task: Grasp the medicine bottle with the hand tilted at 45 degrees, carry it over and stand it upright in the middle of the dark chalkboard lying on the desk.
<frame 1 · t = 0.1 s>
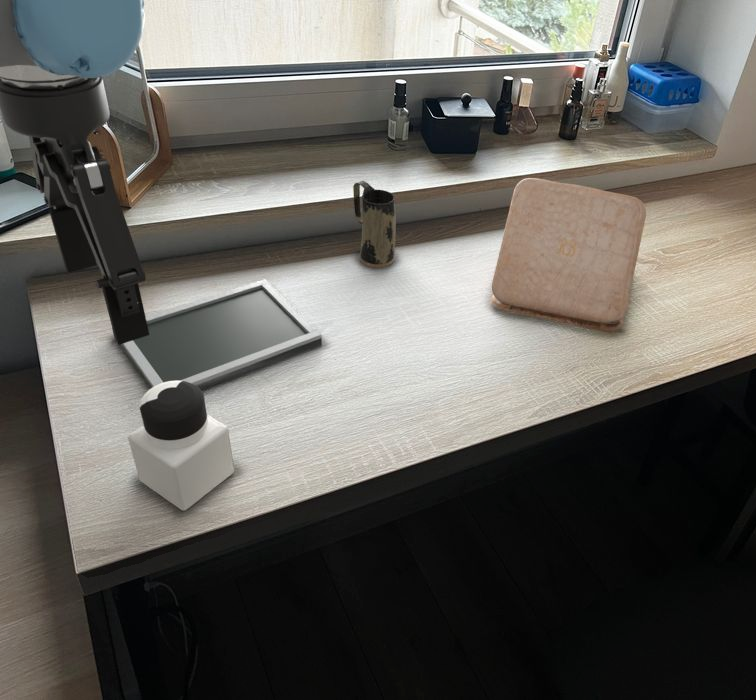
hand: (105, 301, 68), 21 cm above the table, tool pointing down, fingers open, 13 cm apart
case: (560, 291, 116), on the table
medicine bottle: (188, 478, 79), on the table
mug: (372, 256, 118), on the table
chalkboard: (219, 342, 97), on the table
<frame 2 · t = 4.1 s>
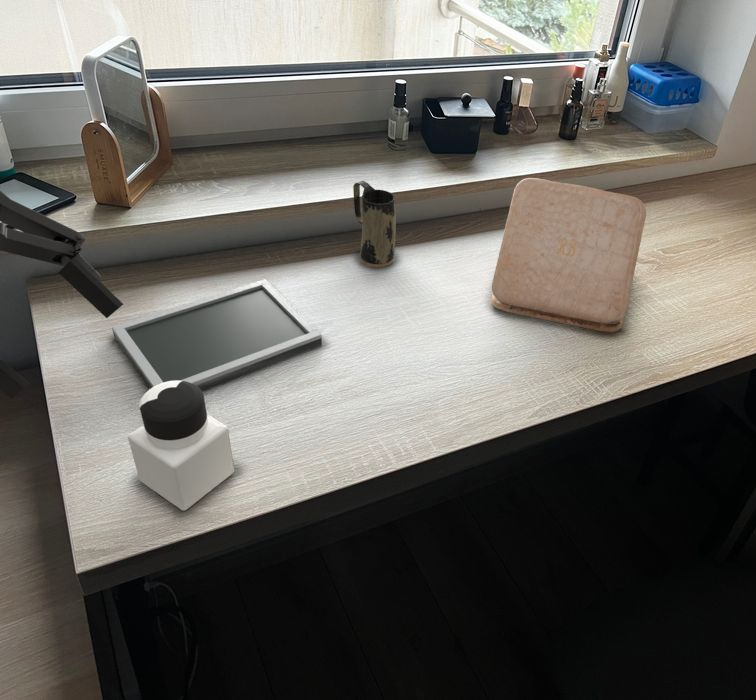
hand: (71, 348, 71), 15 cm above the table, tool tilted 45°, fingers open, 13 cm apart
nothing on the table moved.
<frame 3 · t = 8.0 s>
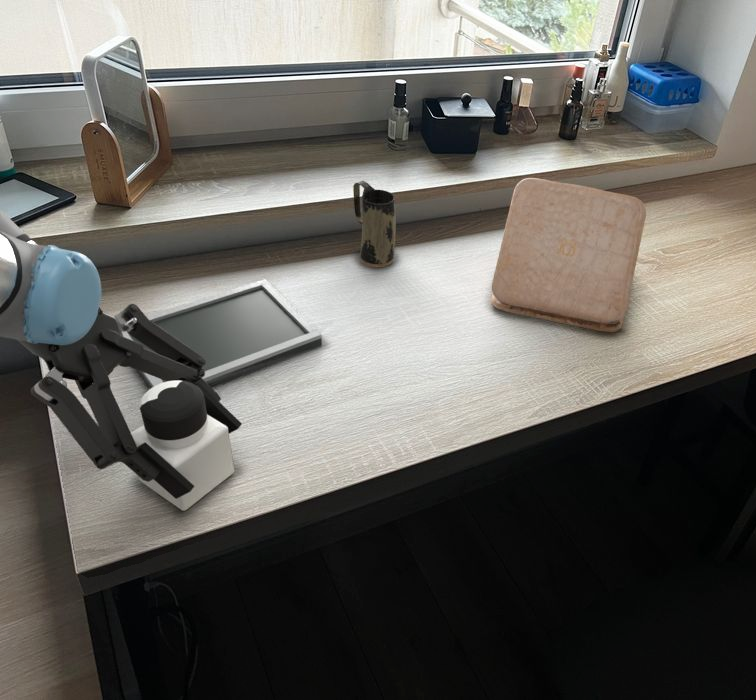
hand: (210, 459, 76), 4 cm above the table, tool tilted 45°, fingers closed on medicine bottle, 9 cm apart
medicine bottle: (188, 478, 79), on the table, touching gripper
everything else where it was.
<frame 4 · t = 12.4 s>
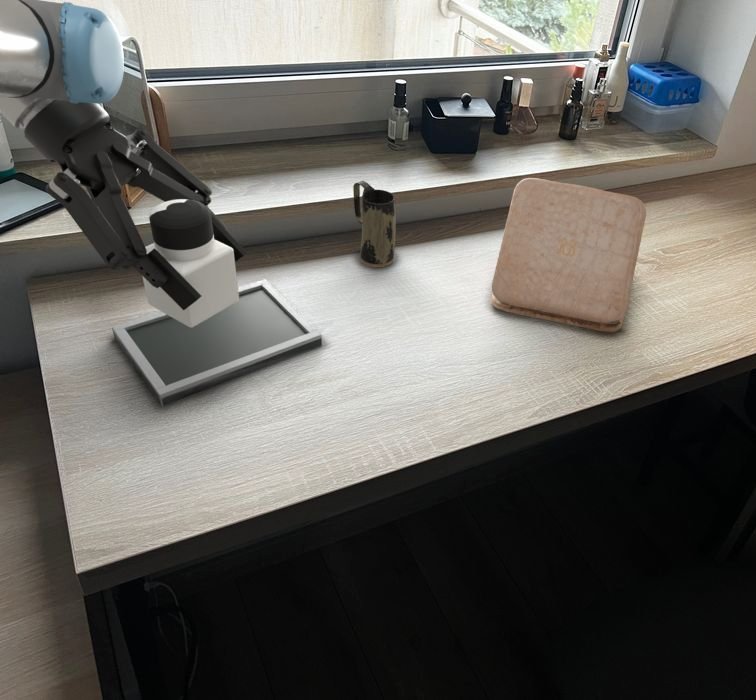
hand: (216, 280, 79), 17 cm above the table, tool tilted 45°, fingers closed on medicine bottle, 9 cm apart
medicine bottle: (194, 304, 82), point 13 cm above the table, touching gripper
everything else where it was.
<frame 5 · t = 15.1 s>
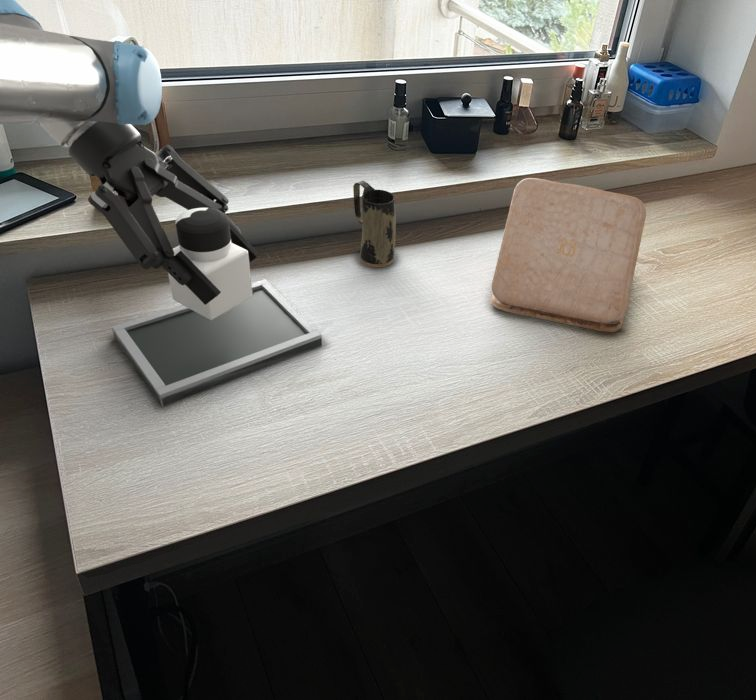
hand: (233, 278, 90), 11 cm above the table, tool tilted 45°, fingers closed on medicine bottle, 9 cm apart
medicine bottle: (213, 300, 93), point 7 cm above the table, touching gripper
everything else where it was.
when the fingers open (5 cm above the table, at t = 17.2 s): medicine bottle stays where it is, resting on chalkboard.
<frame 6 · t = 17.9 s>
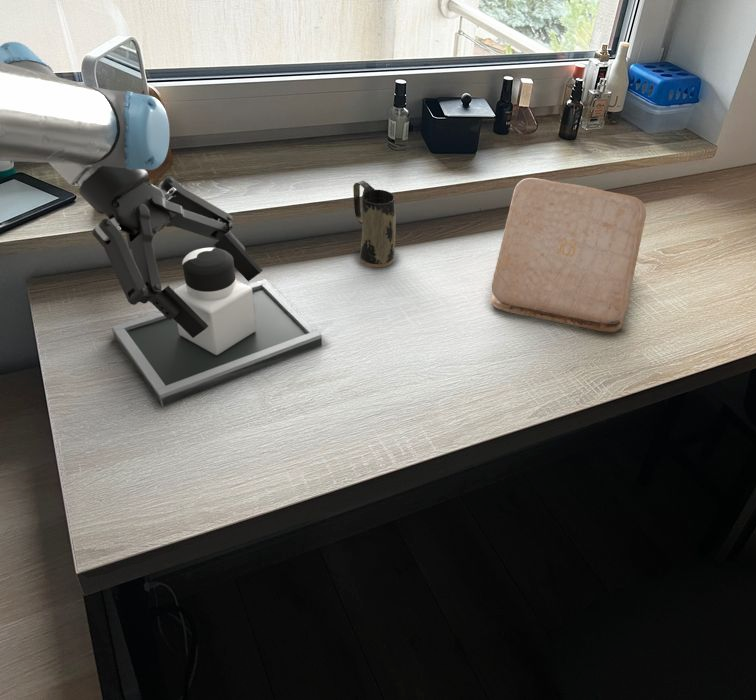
hand: (230, 302, 93), 7 cm above the table, tool tilted 45°, fingers open, 13 cm apart
medicine bottle: (218, 334, 97), point 1 cm above the table, touching chalkboard
everything else where it was.
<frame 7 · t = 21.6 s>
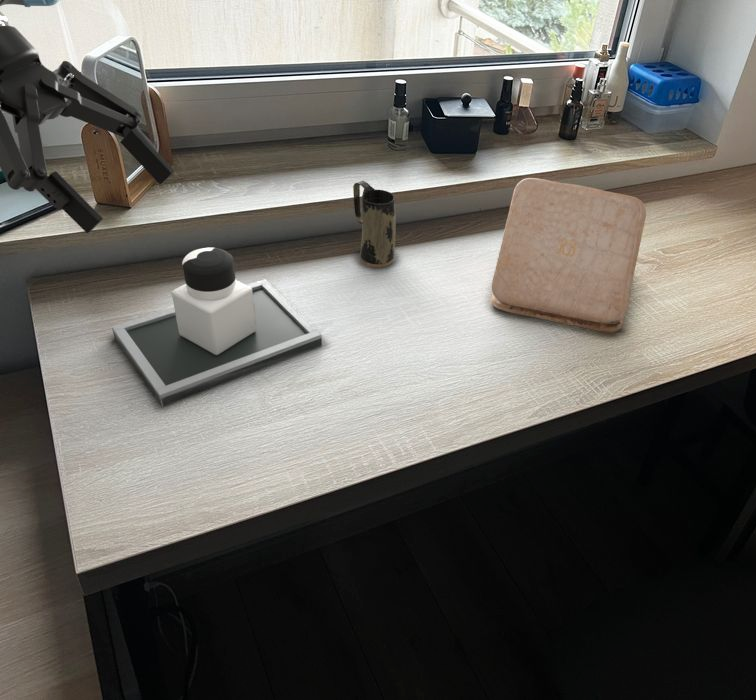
hand: (133, 200, 85), 20 cm above the table, tool tilted 45°, fingers open, 13 cm apart
nothing on the table moved.
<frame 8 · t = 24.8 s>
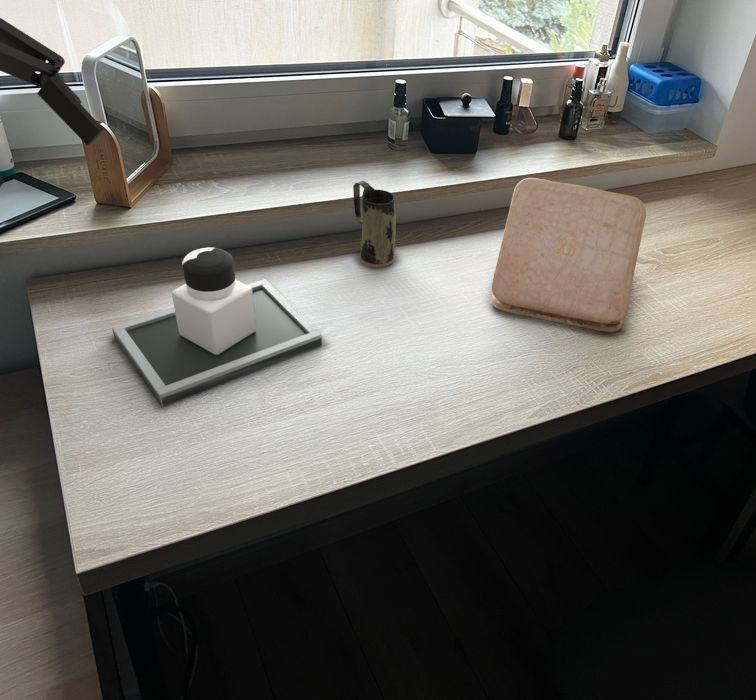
hand: (49, 162, 70), 30 cm above the table, tool tilted 45°, fingers open, 13 cm apart
nothing on the table moved.
at the end: medicine bottle inside the target area on the chalkboard (0.0 cm from its centre), point 1.3 cm above the chalkboard's base; medicine bottle tilted 0° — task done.
